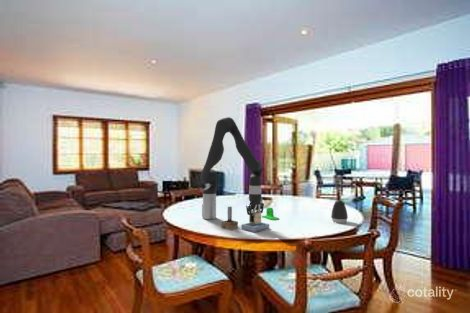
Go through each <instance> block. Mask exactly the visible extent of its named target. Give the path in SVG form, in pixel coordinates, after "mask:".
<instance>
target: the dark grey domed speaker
mask: <svg viewBox="0 0 470 313" xmlns="http://www.w3.org/2000/svg"><path fill="white" fill-rule="evenodd" d="M345 204H346V203H345V202H344V201H343V200H340V199H337V200H336V201H335V202H334V204H333V206H332V209H331V216H330V217H331V220H332V221H333V223H335V222H336V224H345V223H346V222H347V220H348V219H349V217H348V216H349V214H348V211H347V207H346V205H345Z"/></svg>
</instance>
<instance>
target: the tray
mask: <svg viewBox="0 0 470 313" xmlns="http://www.w3.org/2000/svg"><path fill="white" fill-rule="evenodd" d="M240 227H241V229H240V230H242V231H247V232H251V233H254V234H257V233H259V232H263V231H266V230H269V229H270V223H266V222H262V221H261V223H258V224H253V223H249V222H246V223H243V224H241V226H240Z"/></svg>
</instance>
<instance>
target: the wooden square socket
mask: <svg viewBox="0 0 470 313" xmlns="http://www.w3.org/2000/svg"><path fill="white" fill-rule="evenodd" d="M221 228H222V229H226V230H229V231H230V230H234V229H238V228H239V222H238V221H236V220H233V219H232V222H230V223H229V222H228V219H227V220H223V221H221Z"/></svg>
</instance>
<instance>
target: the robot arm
mask: <svg viewBox="0 0 470 313" xmlns="http://www.w3.org/2000/svg"><path fill="white" fill-rule="evenodd" d="M213 133H214V134H213V138H212V140H211V141H212V142H211V145H210V148H209V150H208V154H207V158H206V161H205V164H204V165H203V168H202V170H201V172H200V178H199V179H200V183H201V184H204V185H205V184H206V185H208V184H209V185H208V186H207V187H205V188H203V190H202V203H201V218H202V219H205V220H214V219H217V189H218V186H217V185H218V173H217V171H216V170H213V169H212V168H214V167H215V166H216V165H217V164H218V163H219V162H220V161H221V160H222V158H223V155H224V152H225V147H224V143H223V142H224V138H225V135H226V134H227V133H230V135H231V136H232V137H233V139H234V143H235V144H234V145H235V148H236V150H237V152H238V154H239V155H240V156H241V158H242V159H243V161H244V163H245V166H246V167H247V168H248V170H249V171H250V175H249V176H250V177H249V180H248V181H249V182H248V183H249V185H248V186H249V187H248V200H249V204H246V205H245V208H246V213H247V214H246V215H248V216H249V215H250V221H251V222H254V212H260V213H261V214H263V212H264V208H265V204H264V203H263V202H261V201H262V174H263V173H262V172H263V164H262V162H261V161H260V160H257V159H256V157H255V156H254V153H253V151H252V149H251V147H249V145H248V144H247V142H246V140H245V139H244V138H243V135H242V133H241V131H240V130H239V127H238V125H237V123H236V121H235V120H234V119H233V117H230V116H228V117H223V118H220V119H219V120H217V122H216V123H215V128H214V132H213Z"/></svg>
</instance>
